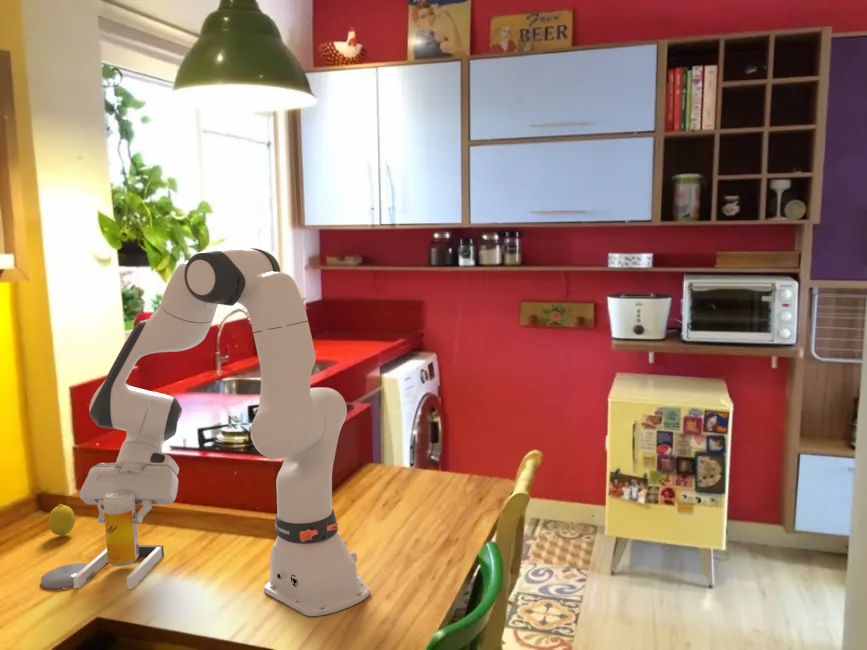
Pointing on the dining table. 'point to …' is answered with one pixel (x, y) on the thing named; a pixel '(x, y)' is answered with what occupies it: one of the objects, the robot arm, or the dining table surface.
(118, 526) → the beer can
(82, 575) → the channel
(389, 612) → the dining table surface
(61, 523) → the lemon
